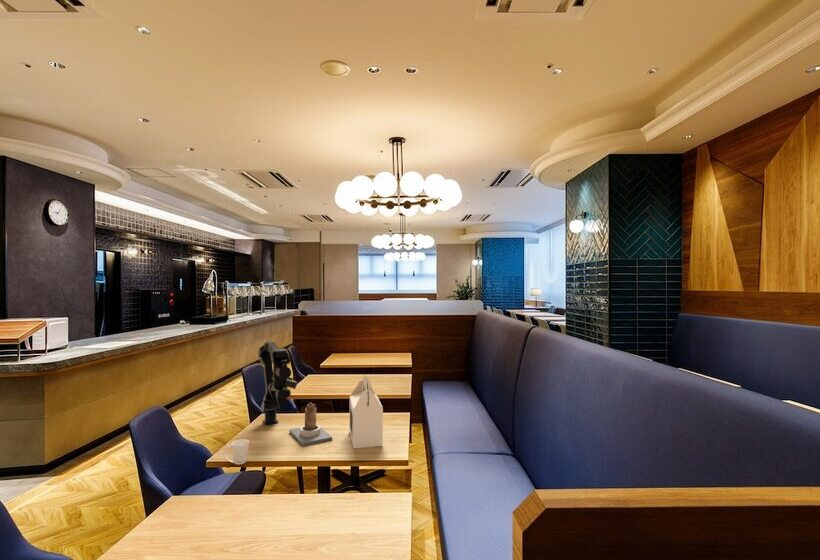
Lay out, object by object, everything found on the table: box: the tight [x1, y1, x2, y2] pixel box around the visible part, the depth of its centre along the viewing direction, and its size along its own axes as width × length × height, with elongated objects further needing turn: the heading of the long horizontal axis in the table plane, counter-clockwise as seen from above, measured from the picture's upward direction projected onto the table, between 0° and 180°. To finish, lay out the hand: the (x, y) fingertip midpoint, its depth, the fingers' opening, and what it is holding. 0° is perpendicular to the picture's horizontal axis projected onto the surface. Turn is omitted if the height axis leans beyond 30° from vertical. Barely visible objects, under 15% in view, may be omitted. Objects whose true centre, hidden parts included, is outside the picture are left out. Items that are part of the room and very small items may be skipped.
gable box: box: [349, 374, 384, 449], centre depth 196 cm, size 22×13×28 cm, turn 12°
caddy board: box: [288, 424, 333, 447], centre depth 198 cm, size 20×14×4 cm
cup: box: [222, 438, 250, 466], centre depth 169 cm, size 7×10×8 cm
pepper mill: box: [304, 402, 317, 431], centre depth 198 cm, size 5×5×14 cm
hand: (279, 407), depth 204 cm, fingers open, 9 cm apart
